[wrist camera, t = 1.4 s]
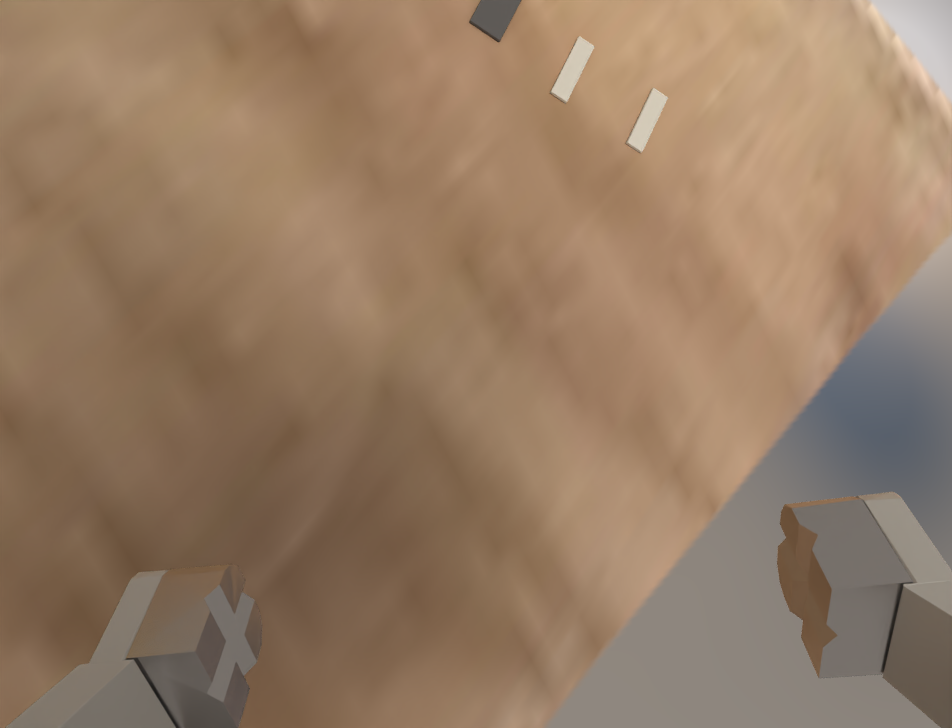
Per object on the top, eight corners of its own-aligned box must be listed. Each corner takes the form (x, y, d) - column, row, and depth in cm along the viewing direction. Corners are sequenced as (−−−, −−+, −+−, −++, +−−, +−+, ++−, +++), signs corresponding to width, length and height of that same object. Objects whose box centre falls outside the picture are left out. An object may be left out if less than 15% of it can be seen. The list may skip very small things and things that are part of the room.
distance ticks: (549, 92, 41) (551, 91, 40) (577, 37, 41) (579, 35, 41) (640, 153, 42) (642, 152, 42) (666, 99, 43) (667, 97, 42)
